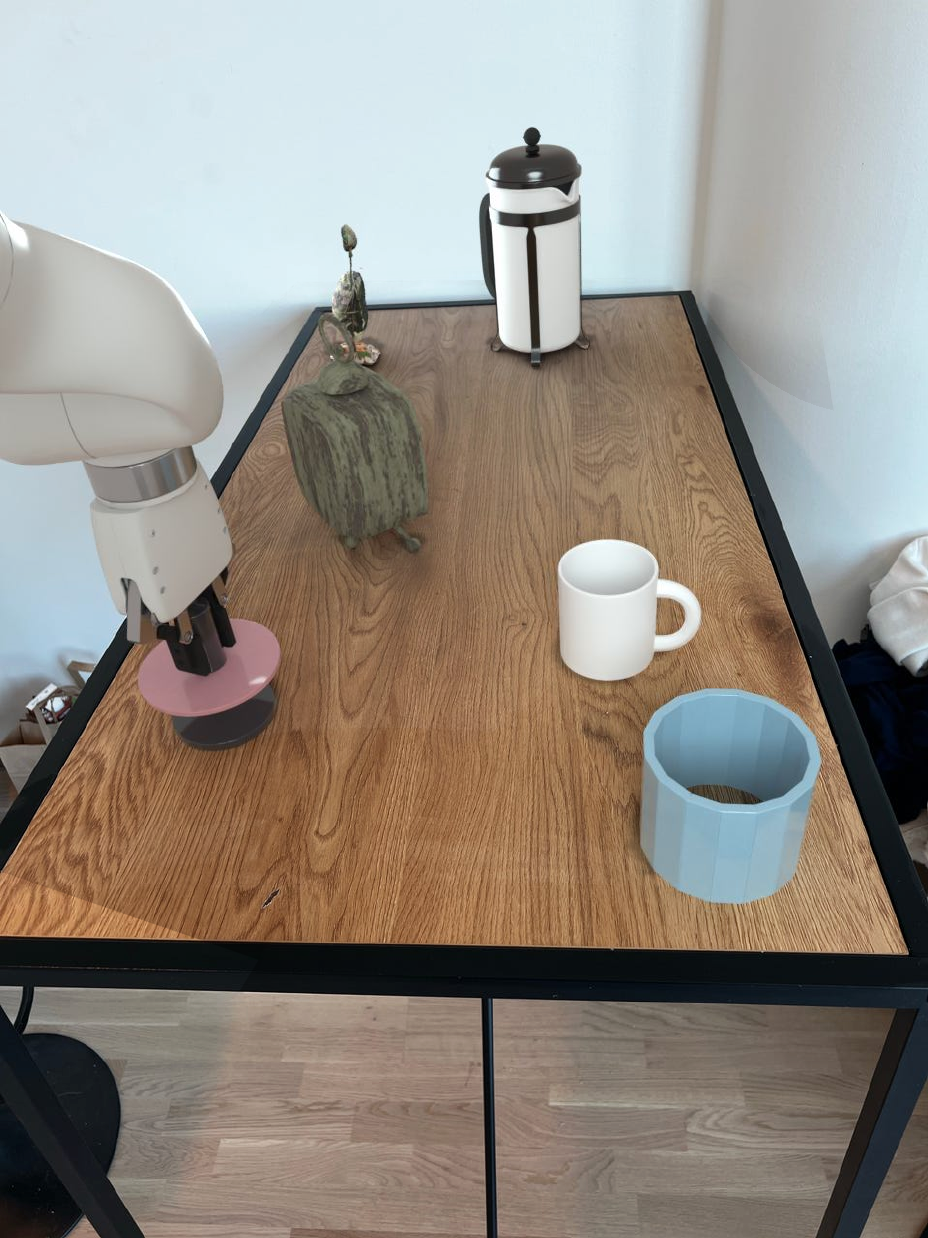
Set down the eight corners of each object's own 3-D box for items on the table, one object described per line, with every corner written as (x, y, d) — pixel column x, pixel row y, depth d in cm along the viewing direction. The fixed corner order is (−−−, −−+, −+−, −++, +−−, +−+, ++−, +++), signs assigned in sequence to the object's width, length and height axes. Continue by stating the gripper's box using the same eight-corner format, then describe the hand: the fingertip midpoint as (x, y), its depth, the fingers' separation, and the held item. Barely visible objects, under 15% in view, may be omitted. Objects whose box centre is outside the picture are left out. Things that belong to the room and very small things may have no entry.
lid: (259, 724, 74) (238, 656, 70) (118, 720, 76) (89, 654, 72) (298, 628, 84) (281, 563, 79) (171, 627, 86) (148, 563, 81)
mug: (696, 635, 86) (704, 541, 79) (697, 697, 79) (706, 601, 73) (565, 629, 88) (563, 537, 82) (555, 688, 82) (552, 594, 75)
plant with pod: (388, 340, 148) (369, 207, 136) (375, 370, 139) (354, 231, 127) (338, 343, 149) (314, 211, 137) (322, 372, 140) (296, 234, 128)
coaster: (241, 761, 78) (239, 754, 78) (154, 738, 81) (151, 731, 81) (295, 690, 85) (293, 683, 84) (212, 672, 88) (210, 665, 87)
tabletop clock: (437, 553, 100) (408, 324, 84) (362, 585, 96) (317, 353, 81) (373, 499, 110) (337, 286, 94) (304, 527, 106) (254, 310, 91)
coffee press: (597, 326, 145) (596, 110, 127) (583, 369, 133) (581, 137, 115) (487, 326, 149) (472, 117, 131) (465, 368, 137) (444, 144, 119)
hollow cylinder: (810, 919, 62) (835, 815, 56) (641, 910, 64) (646, 809, 57) (785, 792, 71) (804, 689, 64) (637, 787, 72) (641, 687, 66)
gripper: (166, 409, 75) (223, 593, 86) (22, 517, 63) (110, 713, 74) (246, 418, 72) (294, 606, 83) (111, 532, 60) (188, 733, 72)
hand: (206, 655), depth 79 cm, fingers closed on lid, 3 cm apart
